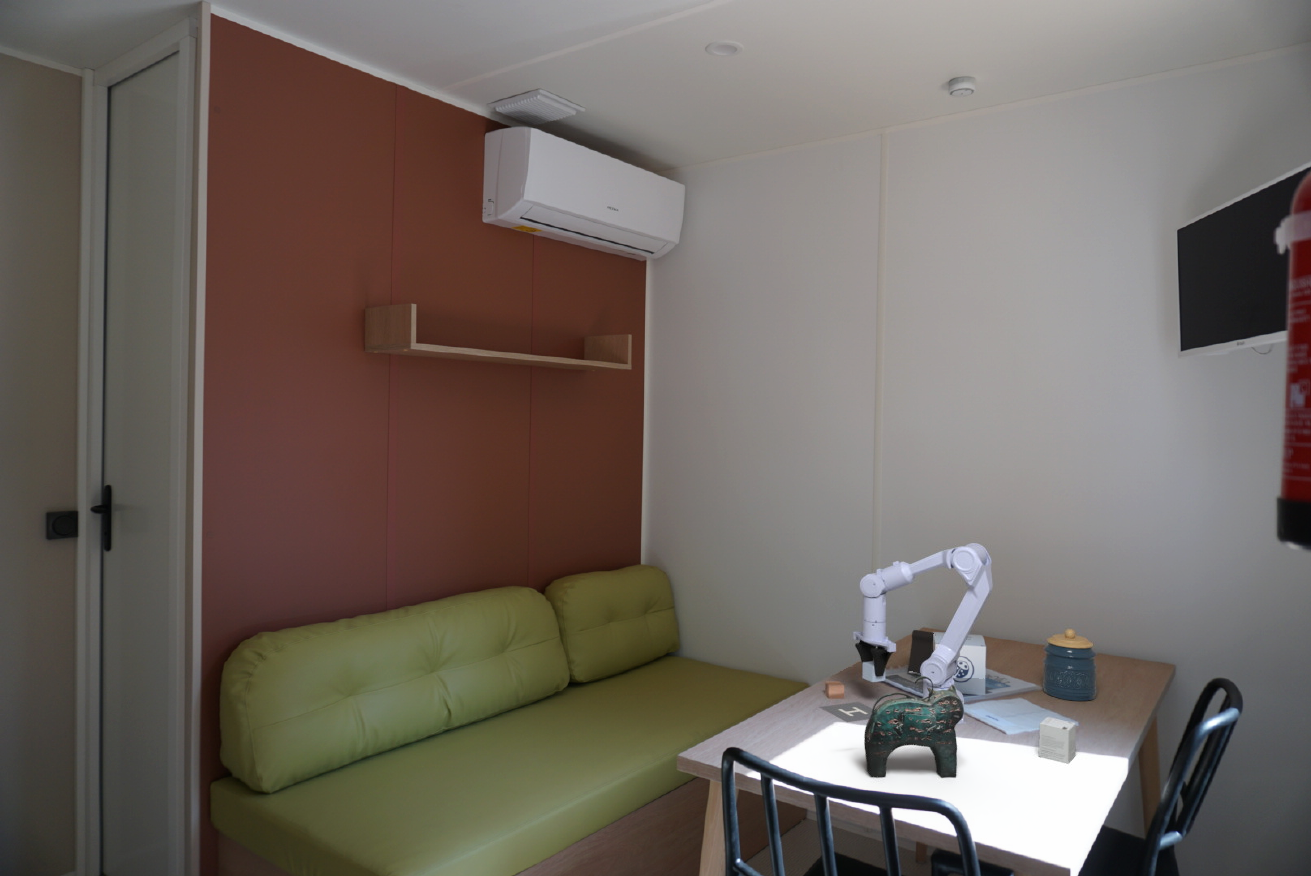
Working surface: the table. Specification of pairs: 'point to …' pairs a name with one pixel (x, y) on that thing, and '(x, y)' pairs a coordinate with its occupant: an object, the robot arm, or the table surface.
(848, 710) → the board
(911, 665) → the phone stand
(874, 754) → the green animal figurine
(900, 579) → the robot arm
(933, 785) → the table surface
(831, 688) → the terracotta block
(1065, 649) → the canister
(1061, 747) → the skincare box
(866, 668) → the pale blue cube
